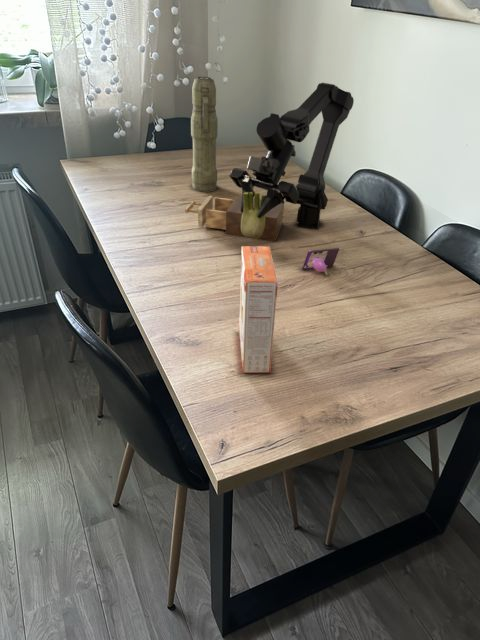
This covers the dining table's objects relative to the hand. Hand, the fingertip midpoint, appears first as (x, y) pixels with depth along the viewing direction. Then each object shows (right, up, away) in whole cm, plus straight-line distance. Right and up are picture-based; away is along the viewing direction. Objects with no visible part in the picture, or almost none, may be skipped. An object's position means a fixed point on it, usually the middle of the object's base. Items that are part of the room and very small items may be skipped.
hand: (249, 214), depth 130 cm
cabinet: (+1, +2, +25) cm, 25 cm away
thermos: (-17, +23, +52) cm, 59 cm away
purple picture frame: (+19, -14, +6) cm, 24 cm away
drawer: (-10, +5, +26) cm, 29 cm away
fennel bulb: (0, -5, +5) cm, 7 cm away
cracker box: (+1, -35, -25) cm, 43 cm away
